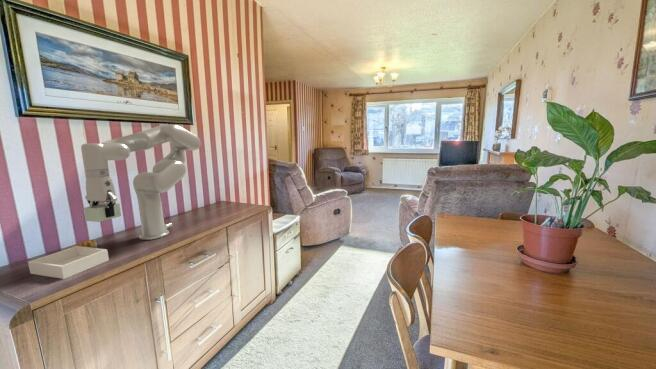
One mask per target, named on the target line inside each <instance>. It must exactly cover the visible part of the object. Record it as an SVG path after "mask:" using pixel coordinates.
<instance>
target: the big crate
mask: <svg viewBox="0 0 656 369" xmlns="http://www.w3.org/2000/svg"><path fill="white" fill-rule="evenodd" d="M71 247H72V246H71ZM108 261H110V259H109V252H108V249H106V248H98V247H97V248H90V247H81V246H75V247H72V248H70V247H69V248H66V249H63V250H59V251H57V252H54V253H50V254H47V255H45V256H41V257H38V258H36V259H33V260H30V261H27V263H28V264H27V265H28V269H29V273H30V274H31V275H38V276H43V277H50V278H55V279H56V278H57V279H63V280H64V279H67V278H69V277H72V276H74V275H77V274H80V273H82V272H84V271H86V270H88V269H91V268H94V267H96V266H98V265H101V264H103V263H106V262H108Z"/></svg>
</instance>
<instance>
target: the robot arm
mask: <svg viewBox="0 0 656 369" xmlns="http://www.w3.org/2000/svg"><path fill="white" fill-rule="evenodd" d="M164 143H165V144H166V143H169V144H170V151H169V153H168V154H167V155H166V156H164V157H163V158H162V159H160V160H159V161H158V162H156V163H155V164H154V165H153V167H152V172H148V171H147V172H145V171H144V172H139V173H137V174H136V175H135V176H134V178H133V180H132V185H133V189H134V192H135V194H136V198H137V206H138V211H139V218H140V225H141V232H142V233H140V234H139V235H138V238H139V240H145V241H148V240H156V239H159V238H164V237H166V236H168V235H169V234H170V230H169V229H168V228H171V227H172V226H173V222H169V223H167V224H166V223H165V219H164V211H163V201H162V197H161V195H160V194H162V193H166V192H168V191H169V190H170V189H172V188H173V187H174V186H175V185H176V184H177V183H178V182H180V181H181V180H182V179H183V178H184V176H185V174H186V171H187V167H186V165H185V162H186V155H185V154H186V153H185V151H189V152H190V151H197V150H199V149H200V147H201V146H202V143H201V139H200V137H199V136H198V135H196V134H195V133H194V132H191V131H189V130H188V129H186V128H184V127H182V126H180V125H178V124H162V125H158V126H154V127H151V128H149V129H148V128H147V129H146V130H142V131H139V132H135V133H132V134H131V133H130V134H128V135H125V136H120V137H117V138H113V139H110V140H106V141H104V142H101V143H99V142H98V143H97V142H95V143H92V142H91V143H89V142H88V143H82V144H81V147H80V148H81V156H82V157H81V158H82V162H83V169H84V175H85V191H86V193H85V194H86V196H85V199H86V201H87V204H88V205H89V206H88V207H90V206H95V205H100V202H101V203H102V204H104V205H105V207H106V208H105V214H106V217H107V218H108V217H112V216H115V212H114V206H115V203H116V202H117V200H118V197H117V196H116V191H115V185H114V183H113V179H112V177H111V176H110V169H109V163H108V161H123V160H126V159H128V158H129V157H130V155H131V153H132V152H133V153H134V152H141V151H147V150H150V149H153V148H155V147H157V146H160V145H163V144H164Z"/></svg>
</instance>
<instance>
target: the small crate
mask: <svg viewBox="0 0 656 369" xmlns="http://www.w3.org/2000/svg"><path fill="white" fill-rule="evenodd" d="M105 208H106V207H105V205H104V203H101V204H100V203H99V205H95V206H86V207H83V210H84V217H85V222H95V223H101V222H103V221H104V222H105V221H108V220H112V219H115V218H116V219H117V218H119V217H122V212H121V205H120V203H118V202H117V203H115V206H114V212H115V216H112V217H108V218H107V217H106V214H105Z"/></svg>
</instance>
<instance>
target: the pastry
mask: <svg viewBox="0 0 656 369" xmlns="http://www.w3.org/2000/svg"><path fill="white" fill-rule="evenodd" d="M97 245H98V243H97V241H96V239H95V238H94V239H91V240H83V241H82V242H78V243H76V244H75V245H72V246H70V247H69V248H72V247H75V246H81V247H90V248H98V246H97Z"/></svg>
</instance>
